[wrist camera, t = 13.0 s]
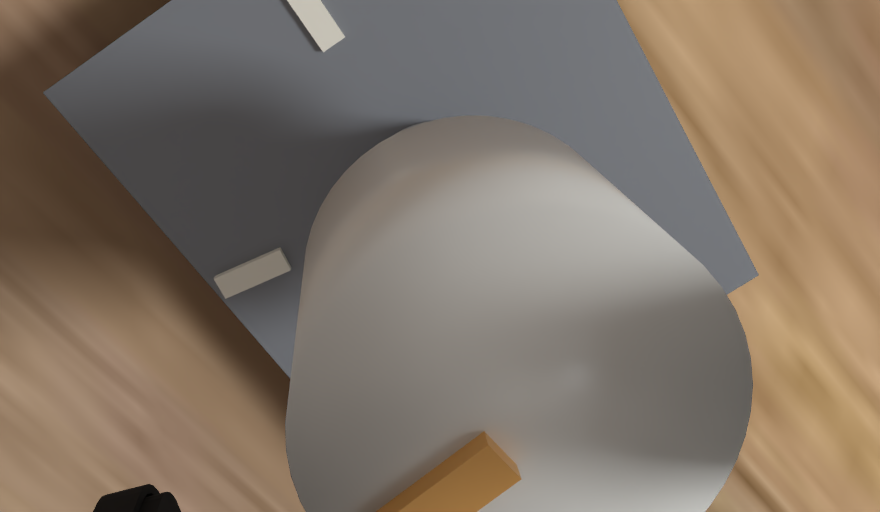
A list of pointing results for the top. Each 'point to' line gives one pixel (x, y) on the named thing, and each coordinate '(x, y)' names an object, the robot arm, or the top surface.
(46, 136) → the top surface
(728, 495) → the top surface
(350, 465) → the white rounded dome
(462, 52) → the stub base
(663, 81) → the top surface
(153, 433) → the top surface
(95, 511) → the robot arm
